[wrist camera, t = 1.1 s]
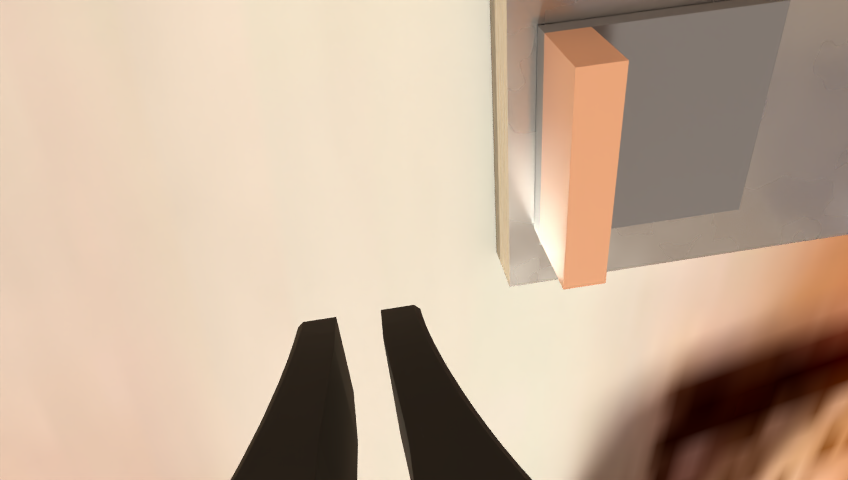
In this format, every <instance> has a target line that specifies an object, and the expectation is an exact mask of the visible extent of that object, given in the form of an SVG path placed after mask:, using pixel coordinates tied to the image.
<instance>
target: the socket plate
mask: <svg viewBox="0 0 848 480" xmlns="http://www.w3.org/2000/svg"><path fill="white" fill-rule="evenodd" d="M720 1H727V0H490V21H491V59H492V97H493V134H494V172H495V210H496V248H497V254H498V257H499V259H500V262H501V265H502V267H503V270H504V273H505V275H506V278H507V281H508V283H509V286H510V287H511V286H517V285H523V284H530V283H536V282H543V281H549V280H556V279H558V277H557V275H556V273H555V271H554V269H553V267H552V265H551V263H550V260H549V258H548V256H547V254H546V252H545V250H544V248H543V246H542V244H541V242H540V240H539V237H538V235H537V233H536V231H535V229H534V216H535V159H536V102H537V45H538V26H539V25H547V24H554V23H562V22H569V21H577V20H584V19H592V18H599V17H607V16H614V15H622V14H630V13H637V12H645V11H652V10H660V9H667V8H675V7H682V6H690V5H697V4H705V3H712V2H720ZM847 234H848V0H791V1H790V5H789V9H788V13H787V17H786V21H785V25H784V29H783V34H782V38H781V42H780V46H779V50H778V54H777V58H776V62H775V66H774V70H773V74H772V78H771V82H770V86H769V90H768V94H767V98H766V102H765V106H764V110H763V114H762V118H761V122H760V126H759V131H758V135H757V139H756V143H755V147H754V151H753V155H752V159H751V163H750V167H749V171H748V175H747V179H746V183H745V187H744V191H743V195H742V199H741V203H740V207H739V210H732V211H725V212H719V213H712V214H706V215H699V216H692V217H686V218H679V219H673V220H666V221H659V222H653V223H646V224H639V225H633V226H626V227H620V228H613V229H611V235H610V244H609V254H608V263H607V272H608V271H614V270H621V269H627V268H633V267H640V266H646V265H653V264H659V263H666V262H672V261H679V260H685V259H692V258H698V257H705V256H711V255H718V254H724V253H731V252H737V251H743V250H750V249H756V248H763V247H769V246H776V245H782V244H789V243H795V242H802V241H808V240H815V239H821V238H828V237H834V236H841V235H847Z"/></svg>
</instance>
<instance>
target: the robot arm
mask: <svg viewBox="0 0 848 480" xmlns="http://www.w3.org/2000/svg"><path fill="white" fill-rule="evenodd" d="M381 316H382V328H383V339H384V345H385V350H386V356H387V361H388V367H389V373H390V378H391V384H392V389H393V395H394V401H395V406H396V412H397V417H398V423H399V429H400V434H401V439H402V443H403V448H404V452H405V457H406V461H407V466H408V470H409V474H410V479H411V480H532V479H531V478H530V477H529V476H528V475H527V474H526V473H525V471H524V470H523V469H522V468H521V467H520V466H519V465H518V463H517V462H516V461H515V460H514V459H513V458H512V456H511V455H510V454H509V453H508V452H507V450H506V449H505V448H504V447H503V446H502V444H501V443H500V442H499V441H498V439H497V438H496V437H495V435H494V434H493V433H492V432H491V430H490V429H489V428H488V426H487V425H486V424H485V422H484V421H483V420H482V418H481V417H480V415H479V414H478V413H477V411H476V410H475V409H474V407H473V406H472V404H471V403H470V401H469V400H468V398H467V397H466V396H465V394H464V393H463V391H462V389H461V388H460V386H459V385H458V383H457V382H456V380H455V378H454V377H453V375H452V374H451V372H450V370H449V369H448V367H447V366H446V364H445V362H444V360H443V359H442V357H441V355H440V353H439V351H438V349H437V347H436V346H435V344H434V342H433V340H432V338H431V336H430V334H429V331H428V329H427V327H426V324H425V322H424V319H423V316H422V313H421V310H420V308H418V307H416V306H415V305H410V306H404V307H398V308H391V309H385V310H381ZM357 459H358V439H357V426H356V415H355V403H354V392H353V387H352V383H351V379H350V374H349V370H348V366H347V362H346V357H345V353H344V349H343V345H342V340H341V336H340V332H339V327H338V323H337V319H336V317H333V318H327V319H320V320H314V321H307V322H303V323H302V324H301V325H300V326H299V327H298V330H297V333H296V337H295V340H294V343H293V346H292V349H291V352H290V355H289V358H288V360H287V363H286V366H285V368H284V371H283V373H282V376H281V378H280V381H279V383H278V385H277V388H276V390H275V392H274V394H273V397H272V399H271V401H270V403H269V406H268V408H267V410H266V412H265V415H264V417H263V419H262V421H261V423H260V425H259V427H258V429H257V431H256V433H255V435H254V437H253V439H252V441H251V443H250V445H249V447H248V449H247V451H246V452H245V454H244V456H243V458H242V460H241V462H240V464H239V466H238V468H237V469H236V471H235V473H234V475H233V477H232V478H231V480H357Z"/></svg>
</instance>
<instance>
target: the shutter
mask: <svg viewBox="0 0 848 480" xmlns="http://www.w3.org/2000/svg"><path fill="white" fill-rule="evenodd" d="M790 1H791V0H727V1H720V2H712V3H705V4H697V5H690V6H682V7H675V8H667V9H660V10H652V11H645V12H637V13H630V14H622V15H614V16H607V17H599V18H592V19H584V20H577V21H569V22H562V23H554V24H547V25H539V26H538V45H537V102H536V159H535V216H534V229H535V231H536V233H537V235H538V237H539V240H540V242H541V244H542V246H543V248H544V250H545V252H546V254H547V256H548V258H549V260H550V263H551V265H552V267H553V269H554V271H555V273H556V275H557V277H558V279H559V281H560V283H561V285H562V288H563V289H570V288H576V287H582V286H589V285H595V284H602V283H605V282H606V272H607V263H608V254H609V244H610V235H611V229H613V228H620V227H626V226H633V225H639V224H646V223H653V222H659V221H666V220H673V219H679V218H686V217H692V216H699V215H706V214H712V213H719V212H725V211H732V210H739V207H740V203H741V199H742V195H743V191H744V187H745V183H746V179H747V175H748V171H749V167H750V163H751V159H752V155H753V151H754V147H755V143H756V139H757V135H758V131H759V126H760V122H761V118H762V114H763V110H764V106H765V102H766V98H767V94H768V90H769V86H770V82H771V78H772V74H773V70H774V66H775V62H776V58H777V54H778V50H779V46H780V42H781V38H782V34H783V29H784V25H785V21H786V17H787V13H788V9H789V5H790Z"/></svg>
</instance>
